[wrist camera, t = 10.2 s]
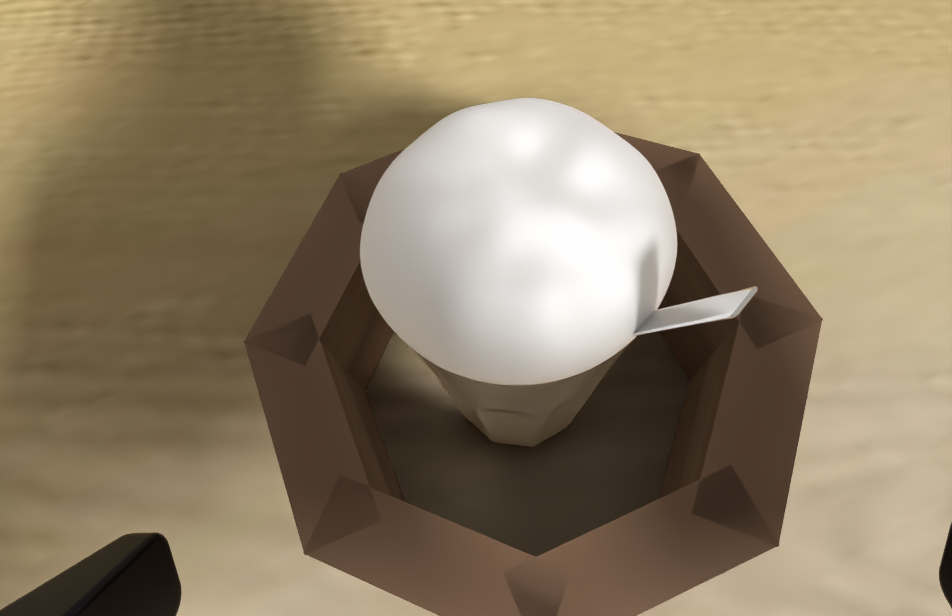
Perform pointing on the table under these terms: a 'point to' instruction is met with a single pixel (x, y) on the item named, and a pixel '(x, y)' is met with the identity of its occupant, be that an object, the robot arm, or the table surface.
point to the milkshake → (524, 260)
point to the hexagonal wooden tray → (603, 549)
